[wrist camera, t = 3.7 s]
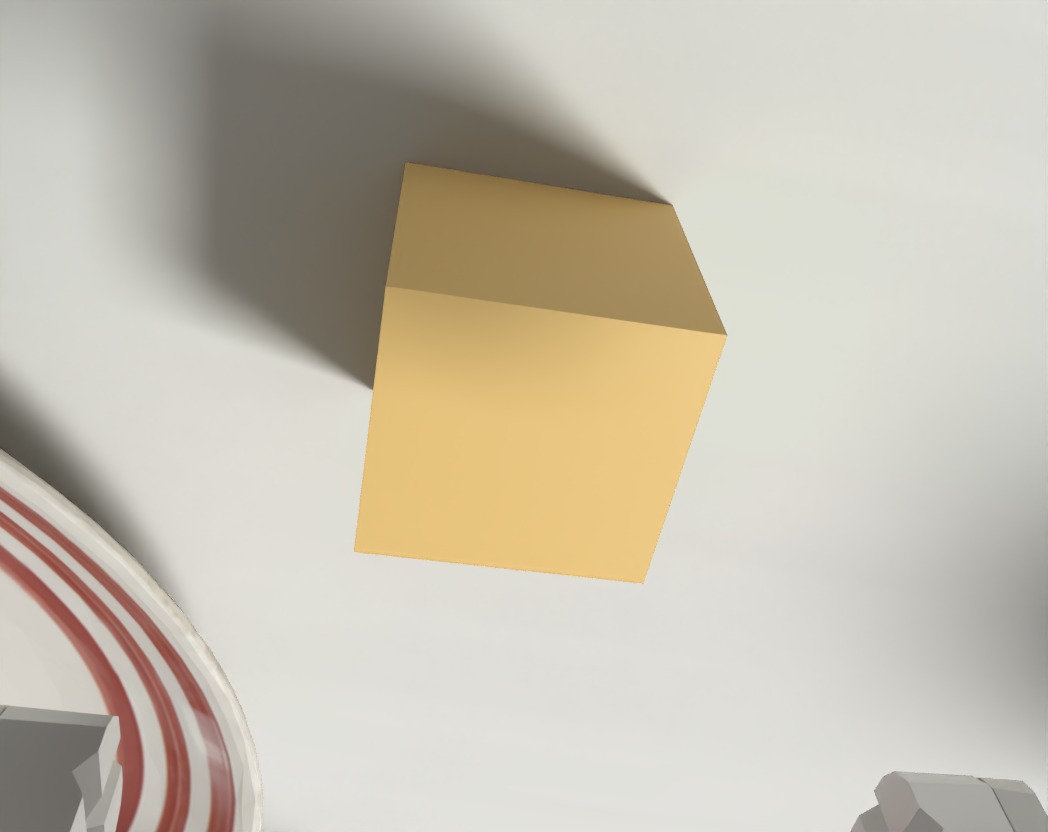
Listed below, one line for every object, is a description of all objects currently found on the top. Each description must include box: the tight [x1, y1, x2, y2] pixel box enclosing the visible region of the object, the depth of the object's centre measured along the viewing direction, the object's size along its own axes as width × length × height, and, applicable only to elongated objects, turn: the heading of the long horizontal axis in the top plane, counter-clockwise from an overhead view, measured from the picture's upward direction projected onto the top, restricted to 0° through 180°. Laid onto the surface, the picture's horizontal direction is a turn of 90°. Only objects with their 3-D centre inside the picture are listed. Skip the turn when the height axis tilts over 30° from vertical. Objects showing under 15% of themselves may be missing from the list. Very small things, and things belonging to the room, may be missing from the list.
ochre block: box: [354, 162, 727, 584], centre depth 18 cm, size 5×5×5 cm
